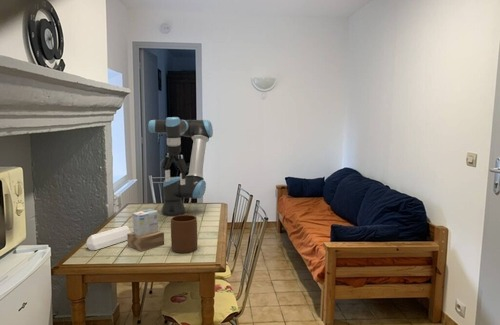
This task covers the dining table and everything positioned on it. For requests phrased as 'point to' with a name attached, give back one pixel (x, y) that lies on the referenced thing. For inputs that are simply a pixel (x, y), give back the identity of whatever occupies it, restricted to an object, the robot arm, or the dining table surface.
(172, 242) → the mug
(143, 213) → the light bulb box
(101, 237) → the crystal
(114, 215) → the dining table surface
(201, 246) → the dining table surface
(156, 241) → the walnut block
